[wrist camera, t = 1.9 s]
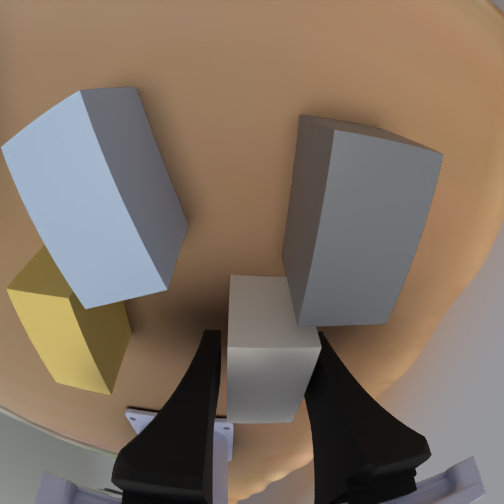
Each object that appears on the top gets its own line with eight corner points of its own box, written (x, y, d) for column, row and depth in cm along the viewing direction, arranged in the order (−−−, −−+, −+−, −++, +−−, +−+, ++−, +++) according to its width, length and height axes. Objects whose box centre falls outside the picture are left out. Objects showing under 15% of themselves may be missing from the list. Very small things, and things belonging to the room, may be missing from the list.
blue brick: (188, 224, 11) (167, 289, 8) (123, 244, 11) (85, 309, 8) (137, 87, 8) (79, 90, 5) (69, 122, 9) (0, 147, 5)
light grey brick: (283, 358, 15) (292, 422, 12) (228, 357, 15) (226, 423, 12) (301, 275, 12) (321, 347, 9) (230, 273, 12) (227, 347, 9)
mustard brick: (132, 331, 14) (111, 395, 11) (83, 325, 14) (56, 382, 10) (111, 236, 11) (68, 298, 8) (55, 234, 11) (6, 288, 8)
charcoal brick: (350, 258, 12) (386, 323, 9) (281, 255, 12) (297, 326, 8) (378, 127, 9) (443, 154, 6) (299, 114, 9) (334, 130, 6)
